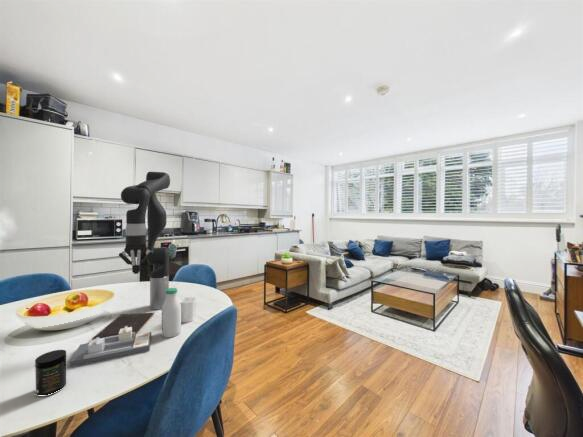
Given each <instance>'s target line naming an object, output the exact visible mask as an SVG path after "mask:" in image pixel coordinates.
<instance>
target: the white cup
mask: <svg viewBox="0 0 583 437" xmlns="http://www.w3.org/2000/svg"><path fill="white" fill-rule="evenodd" d="M178 300H179V302H180V305H181V323H190V322H192V321H194V320H195V317H196V315H195V314H196V303H197V302H196V301H197V299H196V297H192V296H190V297H189V296H188V297H183V298H179V299H178Z"/></svg>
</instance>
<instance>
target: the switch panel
mask: <svg viewBox="0 0 583 437" xmlns="http://www.w3.org/2000/svg"><path fill="white" fill-rule="evenodd" d="M99 339H101V338H99ZM93 340H95V339H93ZM151 342H152V331H147V332H143V333H142V332H141V333H138V334H136V335H135V332H133V333H132V338H131V339H128V340H123V341H119V335H116V336H110V337H105V348H104V350H103V352H98V353H93V354H88V345H89V343H90V342H87V343H81V344H79V346H78V348H77V349H76V351H75V352H74V353H73V355H72V357H71V358H70V360H69V362H68V367H69V368H73V367H78V366H83V365H88V364H92V363H93V364H94V363H97V362H103V361H107V360H112V359H116V358H121V357H126V356H132V355H135V354H136V355H137V354H140V353H141V354H142V353H145V352H149V351H150V350H151V348H150V347H151Z"/></svg>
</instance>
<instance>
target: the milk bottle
mask: <svg viewBox="0 0 583 437" xmlns="http://www.w3.org/2000/svg"><path fill="white" fill-rule="evenodd" d="M179 300H180V299H179V298H178V288H177V287H169V289H166V299H165V302H164V304H163V307H162V309H161V336H162V337H163V338H172V337H173V338H174V337H176V336H179V335H180V333H182V332H181V331H182V322H181V305H180V302H179Z"/></svg>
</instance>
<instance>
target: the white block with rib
mask: <svg viewBox="0 0 583 437" xmlns="http://www.w3.org/2000/svg"><path fill="white" fill-rule="evenodd" d="M88 343H89V345H88V354H93V353H98V352H103V350H104V348H105V338H101V339H99V337H97V338H96V339H95V340H92V339H91V340H90V342H88Z"/></svg>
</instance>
